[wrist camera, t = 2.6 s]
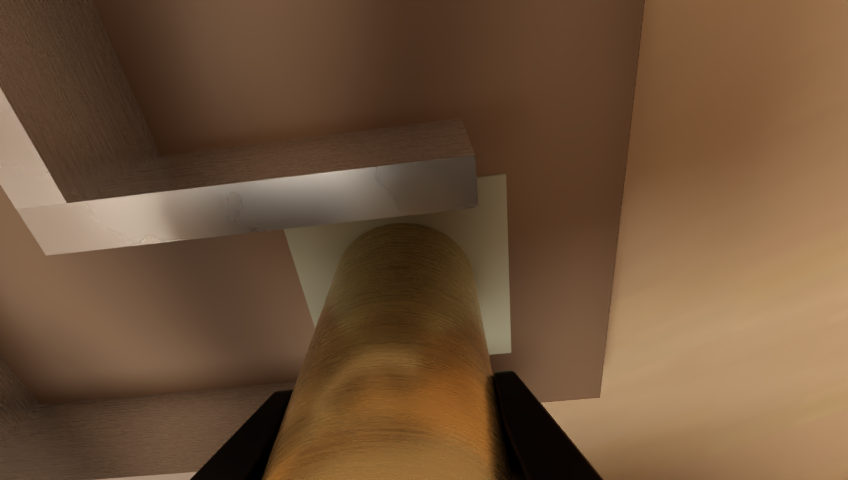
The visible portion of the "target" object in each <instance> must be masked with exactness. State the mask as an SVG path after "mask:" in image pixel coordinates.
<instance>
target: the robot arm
mask: <svg viewBox="0 0 848 480" xmlns="http://www.w3.org/2000/svg"><path fill="white" fill-rule="evenodd" d="M493 380H494V385H495V390H496V396H497V401H498V406H499V411H500V417H501V422H502V427H503V432H504V437H505V442H506V447H507V452H508V457H509V462H510V467H511V473H512V478H513V480H603V478H602V477H601V476H600V475H599V474H598V472H597V471H596V470H595V469H594V468H593V466H592V465H591V464H590V463H589V461H588V460H587V459H586V458H585V457H584V455H583V454H582V453H581V452H580V450H579V449H578V448H577V447H576V446H575V444H574V443H573V442H572V441H571V439H570V438H569V437H568V436H567V435H566V433H565V432H564V431H563V430H562V429H561V427H560V426H559V425H558V424H557V422H556V421H555V420H554V419H553V418H552V416H551V415H550V414H549V413H548V411H547V410H546V409H545V408H544V407H543V405H542V404H541V403H540V402H539V401H538V399H537V398H536V397H535V396H534V394H533V393H532V392H531V391H530V390H529V388H528V387H527V386H526V385H525V383H524V382H523V381H522V380H521V379H520V377H519V376H518V375H517V374H516V373H515V372H514V371H512V370H506V371H496V372H494V374H493ZM292 392H293V389H289V390H278V391H276V392H274V393H273V394H272V395H271V396H270V397H269V398H268V399H267V400H266V401H265V402H264V403H263V404H262V405H261V406H260V407H259V408H258V409H257V410H256V411H255V412H254V413H253V414H252V416H251V417H250V418H249V419H248V420H247V421H246V422H245V423H244V424H243V425H242V426H241V427H240V428H239V429H238V430H237V431H236V432H235V433H234V434H233V435H232V436H231V437H230V438H229V439H228V440H227V441H226V442H225V444H224V445H223V446H222V447H221V448H220V449H219V450H218V451H217V452H216V453H215V454H214V455H213V456H212V457H211V458H210V459H209V460H208V461H207V462H206V463H205V464H204V465H203V466H202V467H201V468H200V469H199V471H198V472H197V473H196V474H195V475H194V476H193V477H192V478H191V479H190V480H261V479H262V476H263V473H264V470H265V468H266V465H267V462H268V459H269V456H270V454H271V451H272V448H273V445H274V442H275V440H276V437H277V434H278V431H279V428H280V426H281V423H282V420H283V417H284V414H285V412H286V409H287V406H288V403H289V400H290V398H291V395H292Z"/></svg>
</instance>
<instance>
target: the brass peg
mask: <svg viewBox="0 0 848 480" xmlns="http://www.w3.org/2000/svg"><path fill="white" fill-rule="evenodd" d="M261 480H513V478H512V473H511V467H510V462H509V457H508V452H507V447H506V442H505V437H504V432H503V427H502V422H501V417H500V411H499V406H498V401H497V396H496V390H495V385H494V380H493V373H492V368H491V363H490V357H489V352H488V347H487V342H486V336H485V331H484V326H483V321H482V316H481V310H480V305H479V300H478V295H477V289H476V284H475V279H474V274H473V269H472V266H471V263H470V261H469V259H468V257H467V255H466V254H465V252H464V251H463V249H462V248H461V247H460V246H459V245H458V244H457V243H456V242H455V241H454V240H452V239H451V238H450V237H449V236H447V235H445V234H444V233H442V232H440V231H438V230H436V229H434V228H431V227H428V226H424V225H420V224H414V223H393V224H387V225H383V226H380V227H376V228H374V229H372V230H369V231H367V232H365V233H364V234H362V235H361V236H359V237H358V238H357V239H355V240H354V241H353V242H352V243H351V244H350V245H349V246H348V247H347V249H346V250H345V252H344V253H343V255H342V257H341V259H340V261H339V264H338V266H337V269H336V272H335V275H334V278H333V280H332V283H331V286H330V289H329V291H328V294H327V297H326V300H325V303H324V305H323V308H322V311H321V314H320V317H319V319H318V322H317V325H316V328H315V331H314V333H313V336H312V339H311V342H310V345H309V347H308V350H307V353H306V356H305V359H304V361H303V364H302V367H301V370H300V373H299V375H298V378H297V381H296V384H295V386H294V389H293V392H292V395H291V398H290V400H289V403H288V406H287V409H286V412H285V414H284V417H283V420H282V423H281V426H280V428H279V431H278V434H277V437H276V440H275V442H274V445H273V448H272V451H271V454H270V456H269V459H268V462H267V465H266V468H265V470H264V473H263V476H262V479H261Z"/></svg>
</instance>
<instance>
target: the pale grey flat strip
mask: <svg viewBox="0 0 848 480" xmlns="http://www.w3.org/2000/svg"><path fill="white" fill-rule="evenodd" d="M93 3H94V5H95V7H96V9H97V12H98V14H99V16H100V19H101V21H102V23H103V25H104V28H105V30H106V32H107V35H108V37H109V39H110V42H111V44H112V46H113V48H114V51H115V53H116V55H117V58H118V60H119V62H120V65H121V67H122V69H123V71H124V74H125V76H126V78H127V81H128V83H129V85H130V88H131V90H132V92H133V94H134V97H135V99H136V101H137V104H138V106H139V108H140V111H141V113H142V115H143V117H144V120H145V122H146V124H147V127H148V129H149V131H150V133H151V136H152V138H153V140H154V143H155V145H156V147H157V150H158V152H159V154H160V156H164V155H172V154H180V153H188V152H196V151H204V150H212V149H220V148H228V147H236V146H244V145H252V144H261V143H269V142H277V141H285V140H293V139H301V138H309V137H317V136H325V135H333V134H341V133H349V132H357V131H365V130H373V129H381V128H389V127H397V126H406V125H414V124H422V123H430V122H438V121H446V120H454V119H462V121H463V124H464V127H465V129H466V132H467V135H468V137H469V140H470V143H471V145H472V148H473V151H474V153H475V162H476V177H477V192H478V208H471V209H462V210H453V211H444V212H435V213H426V214H417V215H408V216H399V217H389V218H380V219H371V220H362V221H353V222H344V223H335V224H326V225H317V226H308V227H299V228H290V229H281V230H272V231H263V232H254V233H245V234H236V235H227V236H218V237H209V238H200V239H191V240H182V241H173V242H164V243H155V244H146V245H137V246H128V247H119V248H110V249H101V250H92V251H83V252H74V253H65V254H56V255H45V253H44V252H43V250H42V248H41V247H40V245H39V244H38V242H37V241H36V239H35V238H34V236H33V235H32V233H31V231H30V230H29V228H28V227H27V225H26V224H25V222H24V221H23V219H22V217H21V216H20V214H19V213H18V211H17V210H16V208H15V207H14V205H13V204H12V202H11V200H10V199H9V197H8V196H7V194H6V193H5V191H4V190H3V188H2V186H1V185H0V356H1V357H2V359H3V360H4V361H5V362H6V364H7V365H8V366H9V367H10V369H11V370H12V371H13V372H14V373H15V375H16V376H17V377H18V378H19V380H20V381H21V382H22V383H23V384H24V386H25V387H26V388H27V389H28V391H29V392H30V393H31V394H32V396H33V397H34V398H35V399H36V400H37V402H38V403H39V404H46V403H57V402H68V401H80V400H91V399H103V398H114V397H126V396H137V395H148V394H160V393H171V392H183V391H194V390H205V389H217V388H228V387H240V386H251V385H262V384H274V383H285V382H296V381H297V378H298V375H299V373H300V370H301V367H302V364H303V361H304V359H305V356H306V353H307V350H308V347H309V345H310V342H311V339H312V336H313V333H314V331H315V328H316V325H317V322H318V319H319V317H320V314H321V311H322V308H323V305H324V303H325V300H326V297H327V294H328V291H329V289H330V286H331V283H332V280H333V278H334V275H335V272H336V269H337V266H338V264H339V261H340V259H341V257H342V255H343V253H344V252H345V250H346V249H347V247H348V246H349V245H350V244H351V243H352V242H353V241H354V240H355V239H357V238H358V237H359V236H361V235H362V234H364V233H365V232H367V231H369V230H372V229H374V228H376V227H380V226H383V225H387V224H393V223H414V224H420V225H424V226H428V227H431V228H434V229H436V230H438V231H440V232H442V233H444V234H445V235H447V236H449V237H450V238H451V239H452V240H454V241H455V242H456V243H457V244H458V245H459V246H460V247H461V248H462V249H463V251H464V252H465V254H466V255H467V257H468V259H469V261H470V263H471V266H472V269H473V274H474V279H475V284H476V289H477V295H478V300H479V305H480V310H481V316H482V321H483V326H484V331H485V336H486V342H487V347H488V352H489V357H490V363H491V368H492V373H493V374H494V372H496V371H506V370H512V371H514V372H515V373H516V374H517V375H518V376H519V377H520V379H521V380H522V381H523V382H524V383H525V385H526V386H527V387H528V388H529V390H530V391H531V392H532V393H533V394H534V396H535V397H536V398H537V399H538V401H539V402H552V401H564V400H576V399H589V398H600V391H601V383H602V374H603V365H604V356H605V347H606V338H607V330H608V321H609V312H610V303H611V294H612V286H613V277H614V268H615V259H616V250H617V241H618V233H619V224H620V215H621V206H622V197H623V189H624V180H625V171H626V162H627V153H628V144H629V136H630V127H631V118H632V109H633V100H634V91H635V83H636V74H637V65H638V56H639V47H640V39H641V30H642V21H643V12H644V3H645V0H93Z"/></svg>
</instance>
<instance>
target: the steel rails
mask: <svg viewBox="0 0 848 480" xmlns="http://www.w3.org/2000/svg"><path fill="white" fill-rule="evenodd" d="M0 185H1V186H2V188H3V190H4V191H5V193H6V194H7V196H8V197H9V199H10V200H11V202H12V204H13V205H14V207H15V208H16V210H17V211H18V213H19V214H20V216H21V217H22V219H23V221H24V222H25V224H26V225H27V227H28V228H29V230H30V231H31V233H32V235H33V236H34V238H35V239H36V241H37V242H38V244H39V245H40V247H41V248H42V250H43V252H44V253H45V255H56V254H65V253H74V252H83V251H92V250H101V249H110V248H119V247H128V246H137V245H146V244H155V243H164V242H173V241H182V240H191V239H200V238H209V237H218V236H227V235H236V234H245V233H254V232H263V231H272V230H281V229H290V228H299V227H308V226H317V225H326V224H335V223H344V222H353V221H362V220H371V219H380V218H389V217H399V216H408V215H417V214H426V213H435V212H444V211H453V210H462V209H471V208H478V192H477V177H476V162H475V153H474V151H473V148H472V145H471V143H470V140H469V137H468V135H467V132H466V129H465V127H464V124H463V121H462V119H454V120H446V121H438V122H430V123H422V124H414V125H406V126H397V127H389V128H381V129H373V130H365V131H357V132H349V133H341V134H333V135H325V136H317V137H309V138H301V139H293V140H285V141H277V142H269V143H261V144H252V145H244V146H236V147H228V148H220V149H212V150H204V151H196V152H188V153H180V154H172V155H164V156H160V154H159V152H158V150H157V147H156V145H155V143H154V140H153V138H152V136H151V133H150V131H149V129H148V127H147V124H146V122H145V120H144V117H143V115H142V113H141V111H140V108H139V106H138V104H137V101H136V99H135V97H134V94H133V92H132V90H131V88H130V85H129V83H128V81H127V78H126V76H125V74H124V71H123V69H122V67H121V65H120V62H119V60H118V58H117V55H116V53H115V51H114V48H113V46H112V44H111V42H110V39H109V37H108V35H107V32H106V30H105V28H104V25H103V23H102V21H101V19H100V16H99V14H98V12H97V9H96V7H95V5H94V3H93V0H0ZM295 384H296V382H285V383H274V384H262V385H251V386H240V387H228V388H217V389H205V390H194V391H183V392H171V393H160V394H148V395H137V396H126V397H114V398H103V399H91V400H80V401H68V402H57V403H46V404H39V403H38V402H37V400H36V399H35V398H34V397H33V396H32V394H31V393H30V392H29V391H28V389H27V388H26V387H25V386H24V384H23V383H22V382H21V381H20V380H19V378H18V377H17V376H16V375H15V373H14V372H13V371H12V370H11V369H10V367H9V366H8V365H7V364H6V362H5V361H4V360H3V359H2V357H1V356H0V480H190V479H191V478H192V477H193V476H194V475H195V474H196V473H197V472H198V471H199V469H200V468H201V467H202V466H203V465H204V464H205V463H206V462H207V461H208V460H209V459H210V458H211V457H212V456H213V455H214V454H215V453H216V452H217V451H218V450H219V449H220V448H221V447H222V446H223V445H224V444H225V442H226V441H227V440H228V439H229V438H230V437H231V436H232V435H233V434H234V433H235V432H236V431H237V430H238V429H239V428H240V427H241V426H242V425H243V424H244V423H245V422H246V421H247V420H248V419H249V418H250V417H251V416H252V414H253V413H254V412H255V411H256V410H257V409H258V408H259V407H260V406H261V405H262V404H263V403H264V402H265V401H266V400H267V399H268V398H269V397H270V396H271V395H272V394H273V393H274V392H276V391H278V390H289V389H294V386H295Z"/></svg>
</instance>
